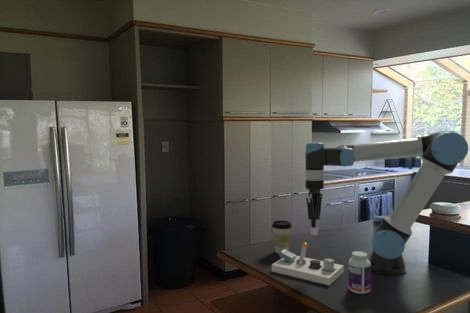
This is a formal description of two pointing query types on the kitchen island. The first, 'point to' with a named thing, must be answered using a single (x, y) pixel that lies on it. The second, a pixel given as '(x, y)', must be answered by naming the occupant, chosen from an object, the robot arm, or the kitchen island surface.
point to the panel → (307, 270)
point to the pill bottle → (359, 273)
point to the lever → (303, 252)
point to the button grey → (328, 265)
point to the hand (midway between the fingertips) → (314, 234)
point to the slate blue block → (287, 255)
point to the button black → (315, 264)
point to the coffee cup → (281, 235)
